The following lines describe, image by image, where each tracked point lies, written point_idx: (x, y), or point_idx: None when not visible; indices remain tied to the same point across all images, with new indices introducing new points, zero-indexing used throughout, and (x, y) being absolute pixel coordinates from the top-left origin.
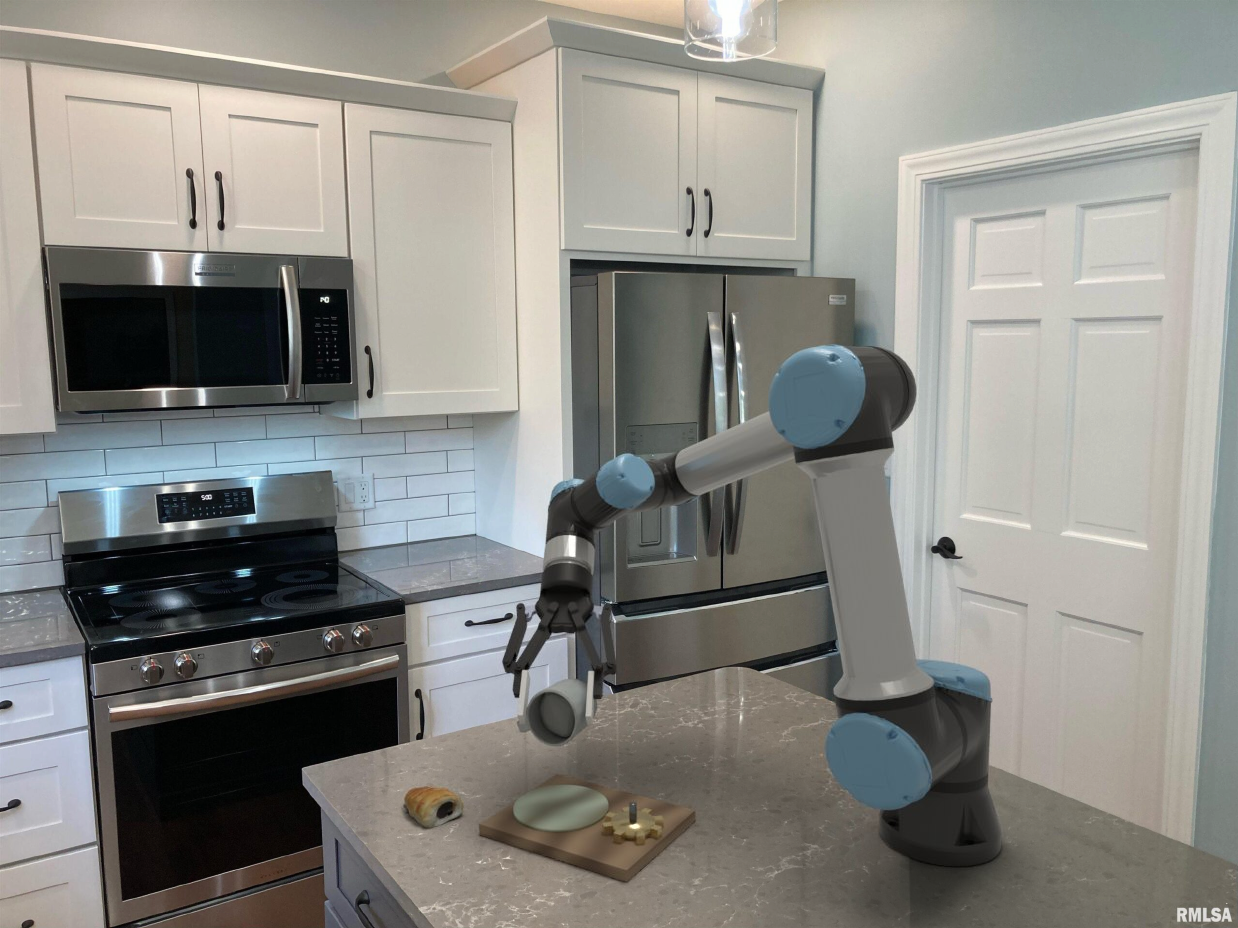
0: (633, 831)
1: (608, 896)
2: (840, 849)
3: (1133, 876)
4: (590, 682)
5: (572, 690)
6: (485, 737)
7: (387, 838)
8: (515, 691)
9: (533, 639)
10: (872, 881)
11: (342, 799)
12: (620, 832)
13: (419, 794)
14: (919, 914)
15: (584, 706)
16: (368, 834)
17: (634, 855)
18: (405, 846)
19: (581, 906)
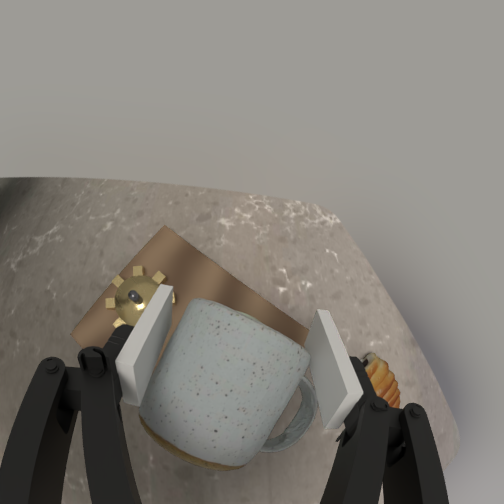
0: (143, 275)
1: (186, 212)
2: (3, 257)
3: None
4: (138, 338)
5: (196, 352)
6: None
7: (395, 333)
8: (353, 360)
9: (368, 496)
10: (11, 213)
11: (439, 403)
12: (157, 275)
13: (391, 384)
14: (16, 180)
15: (169, 342)
16: (410, 340)
17: (151, 249)
18: (378, 318)
19: (211, 202)
